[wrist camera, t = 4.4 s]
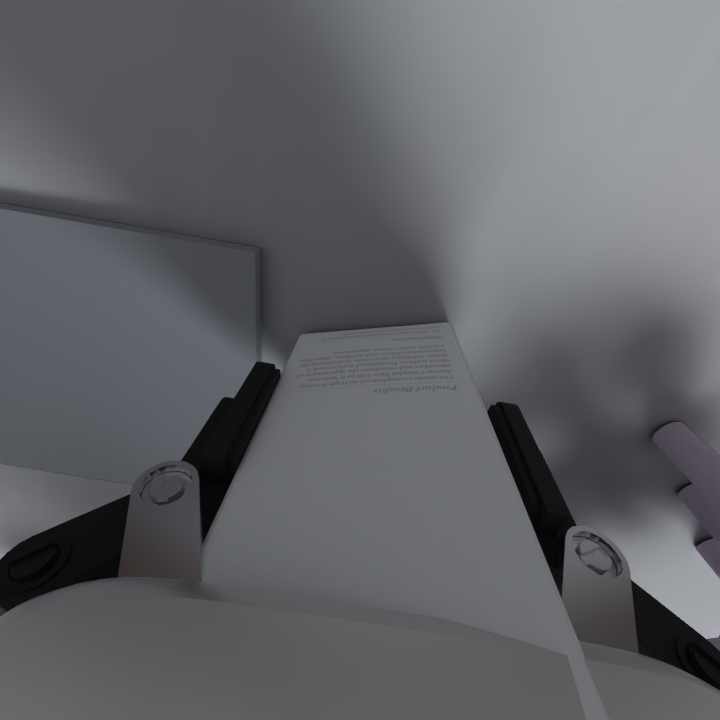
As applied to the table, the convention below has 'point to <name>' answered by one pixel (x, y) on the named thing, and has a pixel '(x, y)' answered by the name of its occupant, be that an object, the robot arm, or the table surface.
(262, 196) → the table surface
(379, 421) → the skincare box
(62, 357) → the mat
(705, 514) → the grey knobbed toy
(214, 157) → the table surface
